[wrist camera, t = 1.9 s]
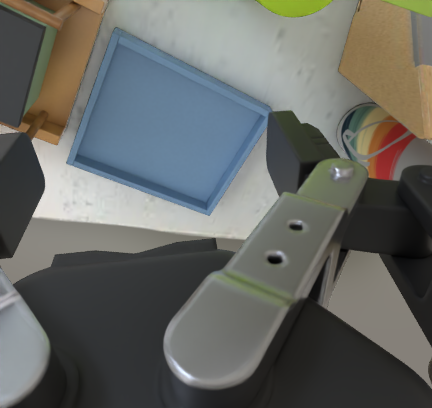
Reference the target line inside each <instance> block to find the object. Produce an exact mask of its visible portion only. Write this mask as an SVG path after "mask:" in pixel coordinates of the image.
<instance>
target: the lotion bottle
mask: <svg viewBox="0 0 432 408" xmlns="http://www.w3.org/2000/svg"><path fill="white" fill-rule="evenodd" d="M337 140H338V143H339V145H340V146H341V148H342V149H343V151H344V152H345V153H346V155H347V156H348V157H349V158H350V160H353V161H356V162H358V163H360V164H362V165H363V166H364V167H366V169H367V170H368V172H369V176H368V177H369V178H375V179H384V180H395V181H399V179H400V176H401V173H402V170H403V169H405V168H406V167H409V166H412V165H430V166H432V145H431V144H430V143H428V142H427V141H426V140H425V139H420V138H418V137H417V136H416V135H414V134H413V133H412V132H411V131H409V130H408V129H407V128H406V127H405V126H403V125H402V124H401V123H400V122H399V121H397V120H396V119H395V118H394V117H393V116H391V115H390V114H389V113H388V112H386V111H385V110H384V109H383V108H382V107H380V106H379V105H377V104H372V103H368V104H362V105H359V106H357V107H355V108H353V109H352V110H350V111H349V112H348V113H347V114H346V115H345V116H344V117H343V119H342V120H341V122H340V124H339V126H338V129H337Z"/></svg>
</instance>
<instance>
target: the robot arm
mask: <svg viewBox="0 0 432 408" xmlns="http://www.w3.org/2000/svg"><path fill="white" fill-rule="evenodd" d="M266 161H267V168H268V171H269V174H270V176H271V178H272V181H273V183H274V185H275V188H276V190H277V193H278V195H279V198H278V200H277V201H276V202H275V204H274V205H273V206H272V207H271V209H270V210H269V211H268V212H267V214H266V215H265V216H264V218H263V219H262V220H261V221H260V223H259V224H258V225H257V226H256V228H255V229H254V230H253V232H252V233H251V234H250V235H249V237H248V238H247V239H246V240H245V242H244V243H243V244H242V246H241V247H240V248H239V249H238V251H237V252H233V251H227V250H220V249H217V244H216V238H212V239H202V240H194V241H183V242H176V243H172V244H169V245H165V246H162V247H158V248H154V249H151V250H147V251H144V252H140V253H135V254H132V253H119V252H107V251H86V252H76V253H66V254H57V255H55V257H54V259H53V262H52V265H51V267H49V268H46V269H43V270H40V271H38V272H35V273H33V274H31V275H29V276H27V277H25V278H23V279H21V280H19V281H18V282H16V283H15V284H13V285H12V283H11V282H10V280H9V279H8V277H7V276H6V274H5V273H4V271H3V270H2V268H1V266H0V408H432V389H431V388H430V386H429V385H428V384H427V383H426V382H425V381H424V380H423V379H422V378H421V377H420V376H419V375H418V374H417V373H416V372H415V371H413V370H412V369H411V368H409V367H408V366H407V365H406V364H404V363H403V362H402V361H400V360H399V359H397V358H396V357H394V356H393V355H392V354H390V353H389V352H387V351H386V350H384V349H383V348H382V347H380V346H379V345H377V344H376V343H374V342H373V341H371V340H370V339H368V338H367V337H366V336H364V335H363V334H361V333H360V332H358V331H357V330H356V329H354V328H353V327H351V326H350V325H348V324H347V323H346V322H344V321H343V320H341V319H340V318H338V317H337V316H336V315H334V314H332V313H331V312H330V311H328V310H327V308H328V305H329V301H330V298H331V296H332V293H333V291H334V288H335V286H336V284H337V282H338V280H339V277H340V275H341V273H342V271H343V268H344V266H345V264H346V262H347V259H348V257H349V255H350V252H351V250H355V251H364V252H371V253H379V255H380V257H381V259H382V261H383V262H384V264H385V266H386V267H387V270H388V271H389V273H390V275H391V277H392V278H393V280H394V282H395V284H396V285H397V287H398V289H399V290H400V292H401V294H402V296H403V298H404V299H405V301H406V303H407V305H408V306H409V308H410V310H411V312H412V313H413V315H414V317H415V319H416V320H417V322H418V324H419V326H420V327H421V329H422V331H423V333H424V334H425V336H426V338H427V340H428V341H429V343H430V345H431V347H432V166H430V165H412V166H409V167H406V168H405V169H403V170H402V173H401V176H400V179H399V181H395V180H384V179H375V178H369V177H368V176H369V172H368V170H367V169H366V167H364V166H363V165H362V164H360V163H358V162H356V161H353V160H349V159H343V158H340V156H339V155H338V154H337V153H336V151H335V150H334V149H333V147H332V146H331V145H330V144H329V142H328V141H327V140H326V138H324V136H323V134H322V133H321V132H320V131H319V129H317V128H315V127H314V126H312V125H310V124H308V123H303V124H301V123H300V122H299V120H298V119H297V117H296V116H295V114H294V113H293V112H292V111H291V110H289V111H277V112H270V113H269V115H268V124H267V148H266ZM44 189H45V179H44V174H43V172H42V169H41V166H40V163H39V161H38V158H37V155H36V153H35V150H34V147H33V145H32V142H31V140H30V137H29V136H28V135H27V133H25V132H20V133H8V134H0V259H4V258H12V257H13V255H14V253H15V251H16V249H17V247H18V244H19V242H20V240H21V238H22V236H23V234H24V232H25V230H26V228H27V226H28V224H29V221H30V219H31V218H32V215H33V213H34V211H35V209H36V207H37V205H38V203H39V201H40V199H41V197H42V195H43V193H44ZM428 373H429V377H430V380H431V383H432V358H431V360H430V362H429V366H428Z"/></svg>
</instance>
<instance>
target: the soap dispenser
mask: <svg viewBox="0 0 432 408" xmlns="http://www.w3.org/2000/svg"><path fill="white" fill-rule="evenodd" d="M256 1H257V2H258V3H260V4H261V5H262V6H264V7H265V8H267V9H268V10H270V11H271V12H273V13H275V14H278V15H281V16H285V17H302V16H306V15H310V14H312V13H315V12H317V11H319V10H321V9H322V8H324V7H325V6H327V5H328V4H329V3H330V2H332V1H333V0H256ZM381 1H384V2H387V3H390V4H393V5H396V6H398V7H401V8H404V9H407V10H410V11H413V12H416V13H419V14H422V15H425V16H428V17H432V0H381Z"/></svg>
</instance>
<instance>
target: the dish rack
mask: <svg viewBox="0 0 432 408" xmlns="http://www.w3.org/2000/svg"><path fill="white" fill-rule="evenodd" d="M33 1H35V2H37V3H39V4H41V5H43V6H45V7H47V8H49V9H51V10H53V11H55V13H53V14H51V13H49V12H47V11H45V10H43V9H41V8H39V7H37V6H35V5H33V4H31V3H29V2H27V1H25V0H0V2H2V3H4V4H6V5H8V6H10V7H12V8H14V9H16V10H18V11H20V12H22V13H24V14H26V15H28V16H30V17H32V18H34V19H37V20H39V21H41V22H43V23H45V24H47V25H49V26H51V27H53V28H55V29H57V34H56V37H55V41H54V44H53V48H52V51H51V55H50V58H49V62H48V66H47V69H46V73H45V76H44V80H43V83H42V87H41V91H40V94H39V98H38V99H37V100H36V101H35V103H34V104H33V105H32V106H31V107H30V109H29V110H28V111H27V112H26V114H25V115H24V116H23V118H22V122H21V125H20V126H19V127H18V128H16V127H13V126H11V125H8V124H5V123H3V122H0V124H2V125H4V126H7V127H9V128H12V129H15V130H17V131H20V132H25V133H27V135H28V136H29V137H30V140H31V141H32V139H33V138H34V137H36V138H38V139H41V140H44V141H46V142H49V143H52V144H54V145H58V143H59V141H60V139H61V137H62V136H63V134H64V132H65V129H66V126H67V123H68V120H69V117H70V114H71V111H72V108H73V105H74V102H75V99H76V96H77V93H78V90H79V87H80V85H81V82H82V79H83V76H84V73H85V70H86V67H87V64H88V61H89V58H90V55H91V52H92V49H93V46H94V43H95V40H96V37H97V34H98V31H99V28H100V25H101V22H102V19H103V16H104V13H105V10H106V7H107V4H108V1H109V0H33Z"/></svg>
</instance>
